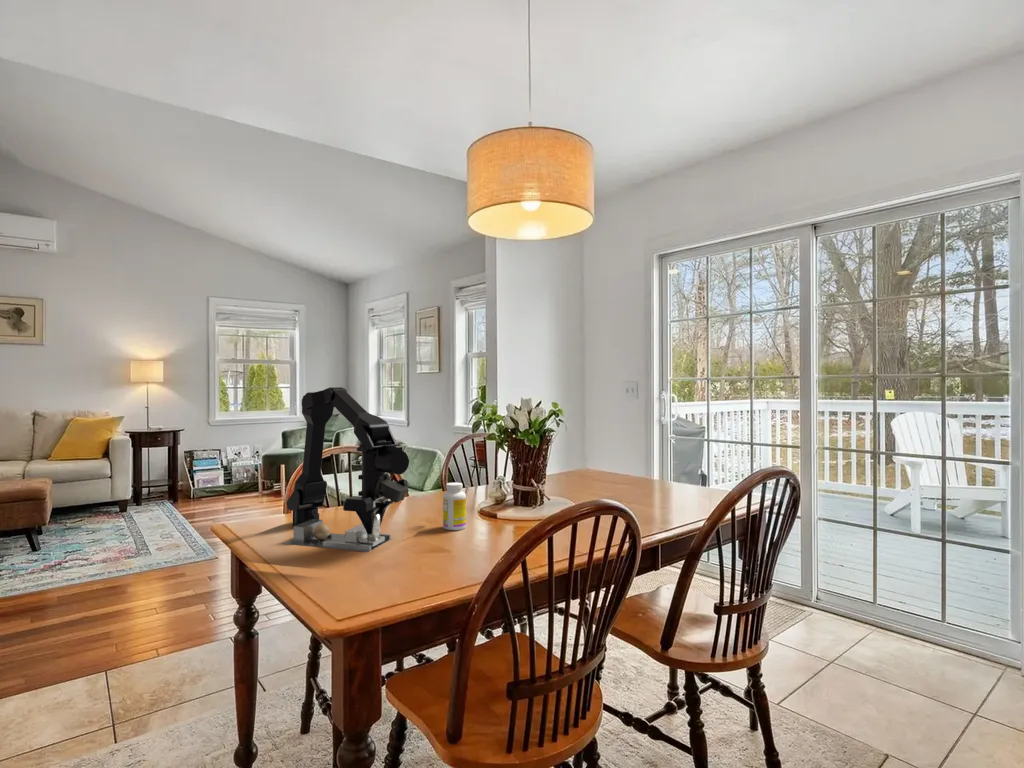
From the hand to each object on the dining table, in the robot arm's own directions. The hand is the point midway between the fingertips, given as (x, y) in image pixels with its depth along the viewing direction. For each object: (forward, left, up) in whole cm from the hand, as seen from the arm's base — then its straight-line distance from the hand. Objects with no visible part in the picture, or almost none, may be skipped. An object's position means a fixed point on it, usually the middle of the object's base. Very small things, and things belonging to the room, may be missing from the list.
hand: (373, 532), depth 145 cm
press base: (-10, 0, -4) cm, 11 cm away
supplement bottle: (+12, +26, -5) cm, 29 cm away
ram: (-2, 0, -3) cm, 3 cm away
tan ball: (-15, 0, -3) cm, 15 cm away
